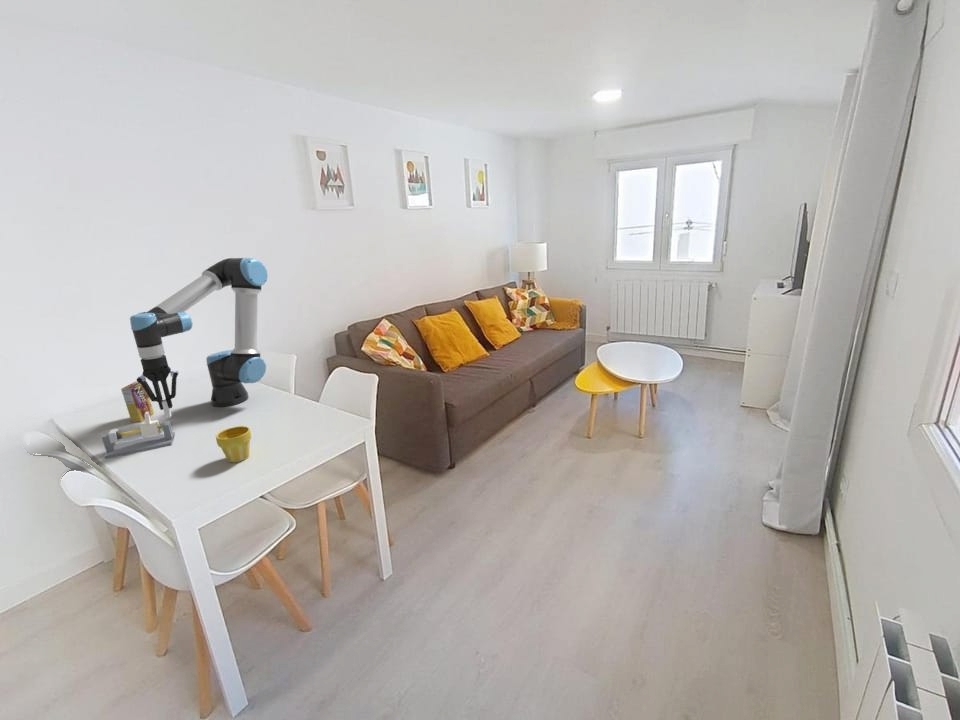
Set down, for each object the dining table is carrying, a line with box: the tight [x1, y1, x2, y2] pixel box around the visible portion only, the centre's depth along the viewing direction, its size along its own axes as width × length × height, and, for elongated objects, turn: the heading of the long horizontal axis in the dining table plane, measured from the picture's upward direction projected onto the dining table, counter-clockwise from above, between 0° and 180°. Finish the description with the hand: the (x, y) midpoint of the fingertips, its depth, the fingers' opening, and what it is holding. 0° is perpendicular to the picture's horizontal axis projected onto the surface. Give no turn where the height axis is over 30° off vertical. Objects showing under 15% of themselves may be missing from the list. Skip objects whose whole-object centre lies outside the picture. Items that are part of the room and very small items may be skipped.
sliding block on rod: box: [101, 420, 176, 459], centre depth 168 cm, size 20×10×8 cm, turn 117°
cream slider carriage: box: [139, 412, 162, 439], centre depth 168 cm, size 5×4×8 cm
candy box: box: [121, 380, 155, 423], centre depth 193 cm, size 9×4×15 cm, turn 2°
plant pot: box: [215, 425, 252, 463], centre depth 156 cm, size 10×10×10 cm
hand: (168, 416), depth 171 cm, fingers closed
